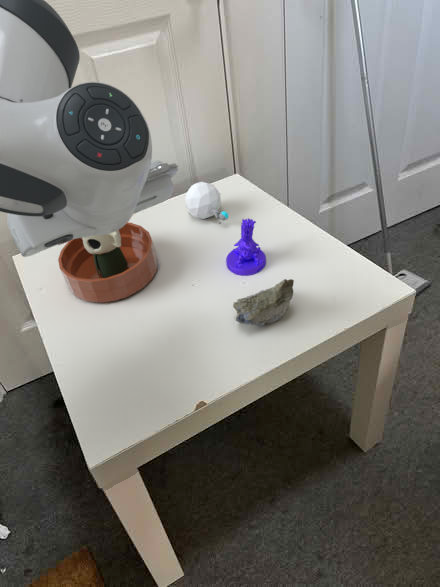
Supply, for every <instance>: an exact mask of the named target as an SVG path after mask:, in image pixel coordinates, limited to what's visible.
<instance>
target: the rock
mask: <svg viewBox="0 0 440 587" xmlns="http://www.w3.org/2000/svg"><path fill="white" fill-rule="evenodd" d="M294 282H295V280H294V279H293V278H289V279H287V278H284V279H282V280H281V281H280V282H278V283H276V284H275V285H274V286H272V287H270V288H266V289H263V290H262V289H261V290H260V291H258V292H256V293H254V294H251V295H247V296H246V297H241V298H238V299H236V301H234V302H233V303H232V306H233V307H232V308H233V309H234V310H235V312H236V316H235V322H237V323H239V324H242V325H243V324H244V325H254V326H257V327H259V328H260V327H262V326H264V325H265V324H272V323H274V322H276V321H279V320H281V319H282V318H283V317H284V316H285V314H286V311H287V309H288V308H289V306H290V303H291V300H292V298H293V296H294V288H293V287H294Z"/></svg>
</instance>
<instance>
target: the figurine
mask: <svg viewBox="0 0 440 587" xmlns="http://www.w3.org/2000/svg"><path fill="white" fill-rule="evenodd" d="M256 223H257V222H256V220H254V219H252V218H249V217H248V218H245V219H244V218H242V219H241V223H240V239H239V240H238V241H237V242H236V243H234V244H233V246H234V247H235V248H233V249H231V251H230V252H229V253H228V254H227V255H226V257H225V258H226V259H225V263H226V267H227V269H228V271H229V272H230V273H232V274H234V275H238V276H243V277H244V276H251V275H252V276H253V275H255V274H258V273H260V272H261V271H262V270H263V269H264V268H265V266H266V265H267V258H266V254H265V252H264V251H263V250H262V249H261V247H260V244H259V243H258V242H256V241H255V239H253V235H254V229H255V224H256Z"/></svg>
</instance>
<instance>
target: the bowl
mask: <svg viewBox="0 0 440 587" xmlns="http://www.w3.org/2000/svg"><path fill="white" fill-rule="evenodd" d="M119 233H120V236H121V247H120V249H121V251H122V253H123V255H124V257H125V259H126V261H127V263H128V265H127V268H126V269H125V270H124V272H122V273H120V274H117V275H114V276H111V277H108V278H103V277H102V274H101V272H100V271H99V270H98V272H99V275H100V276H99V275H98V273H97V270H96V266H95V262H94V257H93V254H91V253H89V252H88V251H87V250H86V249H85V247H84V244H83V239H82V238H77V239H72V240H70V241H68V242H66V243H65V244H64V246H63V248H62V249H61V250H60V253H59V255H58V259H57V262H58V267H59V270H60V272H61V275H62V276H63V278H64V281H65V283H66V285H67V288H68V289H69V291H70V292H71V293H72V294H73V295H74V296H75V297H76V298H79V299H81V300H83V301H86V302H92V303H108V302H115V301H119V300H122V299H124V298H125V299H126V298H127V297H130V296H132V295H134V294H135V293H138V292H139V291H140V290H142V289H144V288H145V287H146V285H148V284H149V283H150V282H151V281H152V280H153V278H154V276H155V275H156V273H157V271H158V257H157V252H156V249H155V245H154V243H153V238H152V236H151V234H150V232H149V231H148V230H147V229H145V228H144V227H143V226H142V225H139V224H136V223H133V222H130V221H128V222H127V224H126V225H124V226H123V227H122V228H121V229H119Z"/></svg>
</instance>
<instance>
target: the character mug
mask: <svg viewBox="0 0 440 587" xmlns="http://www.w3.org/2000/svg"><path fill="white" fill-rule="evenodd" d="M82 239H83V244H84V247H85V249H86V250H87V251H88V252H89V253H91V254H93V257H94V262H95V266H96V270H97V273H98V275H99V272H98V270H99V271H100V272H101V274H102V277H103V278H108V277H111V276H114V275H117V274H120V273H122V272H124V270H125V269H126V268H127V265H128V263H127V261H126V259H125V257H124V255H123V253H122V251H121V249H120V247H121V236H120V233H119V230H117V231H115V232H113V233H110V234H105V235H93V236H90V237H84V238H82ZM99 276H100V275H99Z"/></svg>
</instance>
